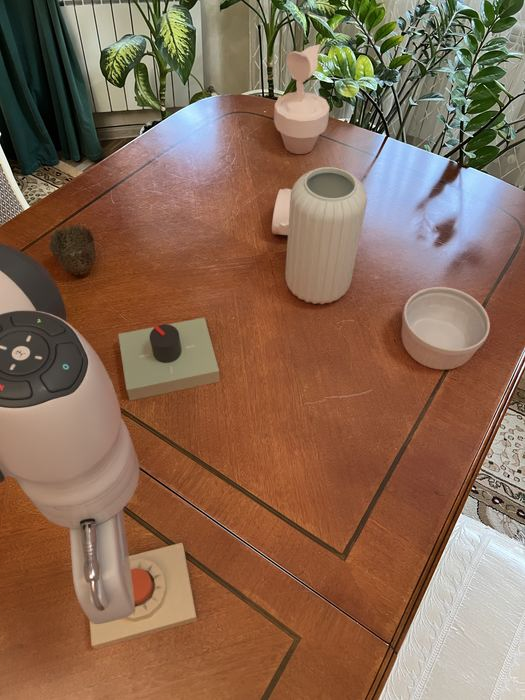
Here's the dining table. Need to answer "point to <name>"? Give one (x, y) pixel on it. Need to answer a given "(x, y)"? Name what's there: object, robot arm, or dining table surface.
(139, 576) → the button
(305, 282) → the vase
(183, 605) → the button box
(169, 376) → the panel
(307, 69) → the potted plant
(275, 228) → the soap bar
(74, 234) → the dark grey rounded lump
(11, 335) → the robot arm
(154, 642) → the dining table surface
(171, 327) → the knob
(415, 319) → the ramekin
